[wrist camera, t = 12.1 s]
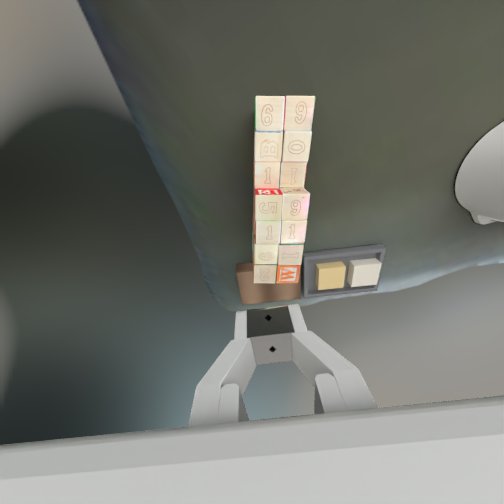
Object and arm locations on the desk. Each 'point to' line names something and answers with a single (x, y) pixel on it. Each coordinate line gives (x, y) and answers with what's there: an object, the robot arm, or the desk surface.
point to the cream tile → (363, 272)
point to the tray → (334, 256)
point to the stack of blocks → (280, 186)
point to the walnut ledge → (264, 287)
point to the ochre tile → (330, 275)
